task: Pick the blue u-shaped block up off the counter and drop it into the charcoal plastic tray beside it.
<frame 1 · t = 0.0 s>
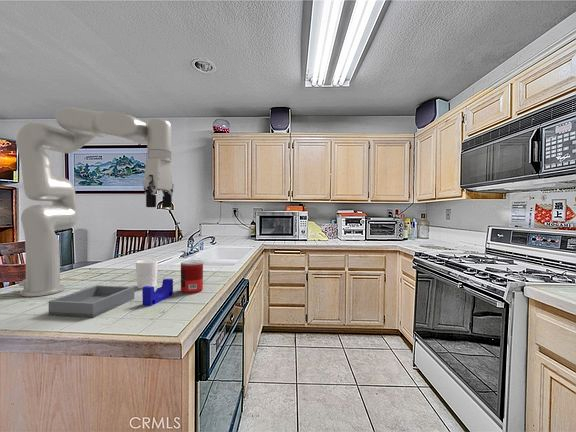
hand: (159, 207, 101), 31 cm above the counter, tool pointing down, fingers open, 9 cm apart
canned food: (191, 291, 111), on the counter
tray: (95, 306, 93), on the counter
blue u-shaped block: (156, 301, 100), on the counter
white cup: (147, 287, 116), on the counter
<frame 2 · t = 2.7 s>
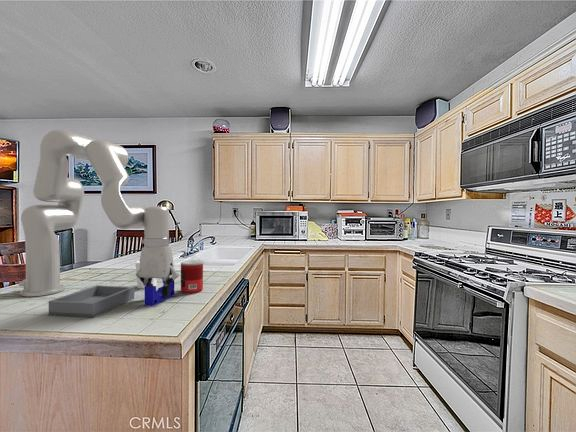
hand: (157, 296, 100), 1 cm above the counter, tool pointing down, fingers open, 5 cm apart
blue u-shaped block: (158, 300, 100), on the counter, touching gripper
everything else where it was.
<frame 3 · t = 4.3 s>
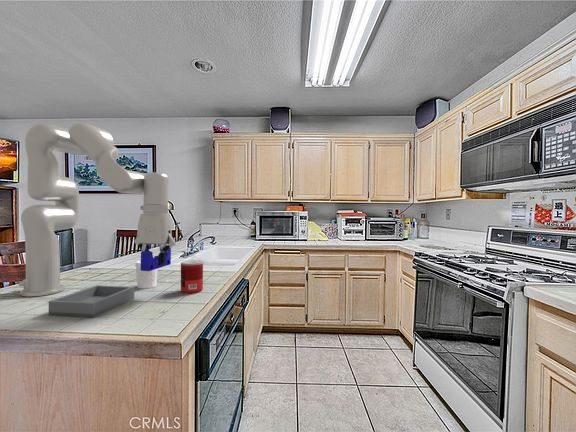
hand: (154, 263, 100), 12 cm above the counter, tool pointing down, fingers closed on blue u-shaped block, 4 cm apart
blue u-shaped block: (154, 267, 100), point 11 cm above the counter, touching gripper
everything else where it was.
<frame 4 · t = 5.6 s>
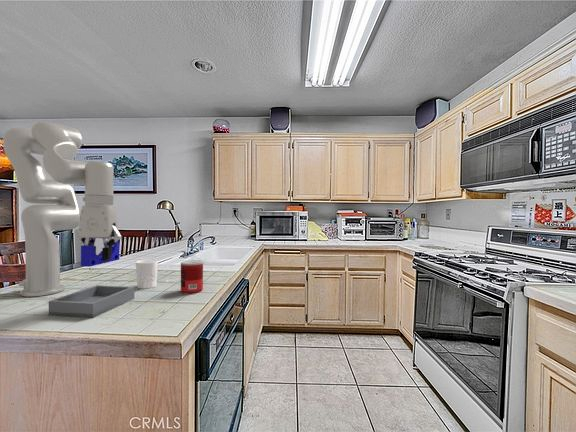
hand: (99, 258, 93), 15 cm above the counter, tool pointing down, fingers closed on blue u-shaped block, 4 cm apart
blue u-shaped block: (99, 263, 93), point 13 cm above the counter, touching gripper
everything else where it was.
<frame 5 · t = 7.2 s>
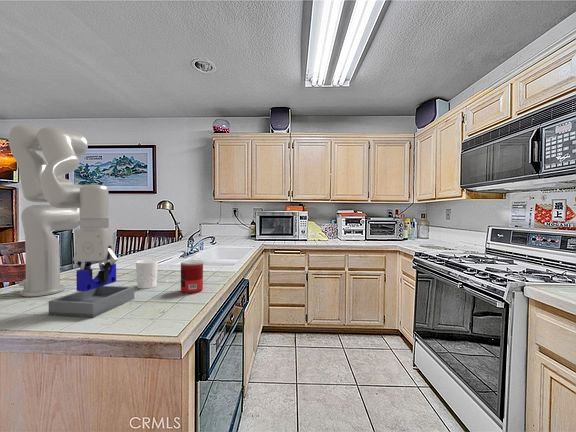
hand: (95, 282, 92), 8 cm above the counter, tool pointing down, fingers closed on blue u-shaped block, 4 cm apart
blue u-shaped block: (95, 286, 93), point 6 cm above the counter, touching gripper
everything else where it was.
when the fingers open (4 cm above the counter, at t = 8.2 s): blue u-shaped block drops 2 cm, resting on tray.
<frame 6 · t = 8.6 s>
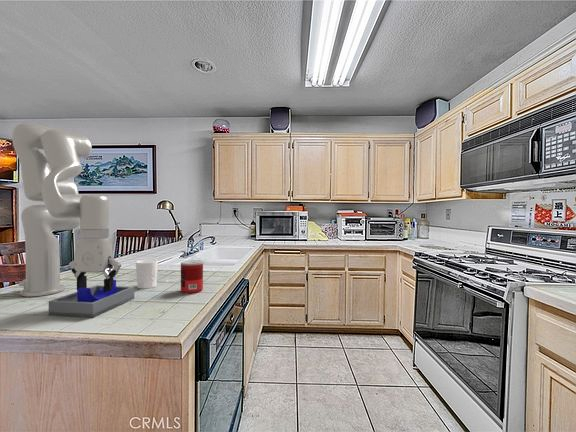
hand: (95, 289, 93), 5 cm above the counter, tool pointing down, fingers open, 8 cm apart
blue u-shaped block: (95, 303, 93), point 1 cm above the counter, touching tray
everything else where it was.
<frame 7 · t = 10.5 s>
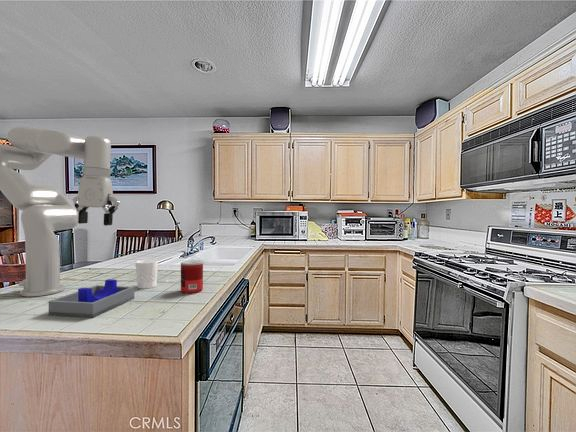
hand: (95, 224, 101), 25 cm above the counter, tool pointing down, fingers open, 9 cm apart
nothing on the counter moved.
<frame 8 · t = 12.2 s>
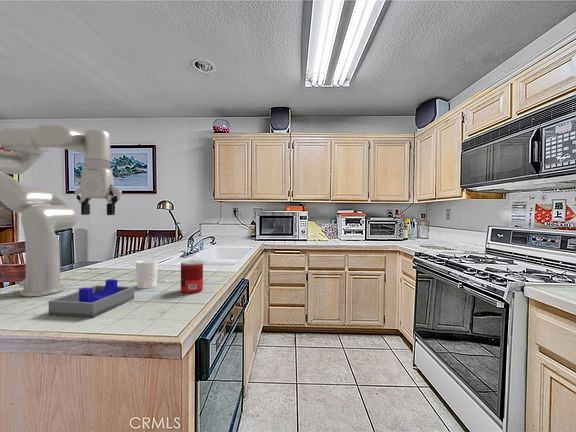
hand: (98, 214, 104), 28 cm above the counter, tool pointing down, fingers open, 9 cm apart
nothing on the counter moved.
at the end: blue u-shaped block inside the target area on the tray (0.5 cm from its centre), point 0.8 cm above the tray's base; the gripper is holding nothing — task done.
